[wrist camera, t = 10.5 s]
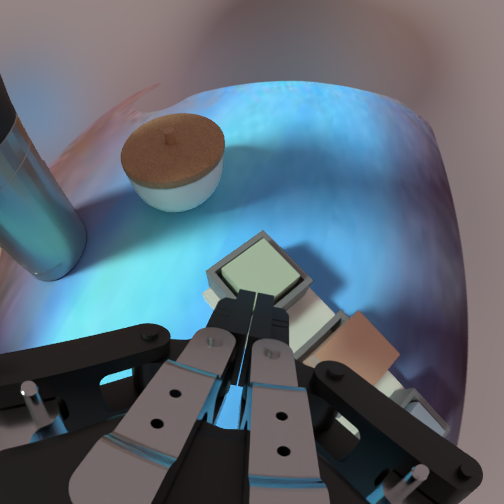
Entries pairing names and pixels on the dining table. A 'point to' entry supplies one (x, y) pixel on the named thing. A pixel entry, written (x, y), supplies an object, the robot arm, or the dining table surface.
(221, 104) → the dining table surface
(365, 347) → the terracotta key
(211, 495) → the robot arm
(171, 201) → the lidded jar
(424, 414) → the slate key
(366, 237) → the dining table surface
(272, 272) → the sage key
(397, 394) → the keypad board
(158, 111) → the dining table surface
